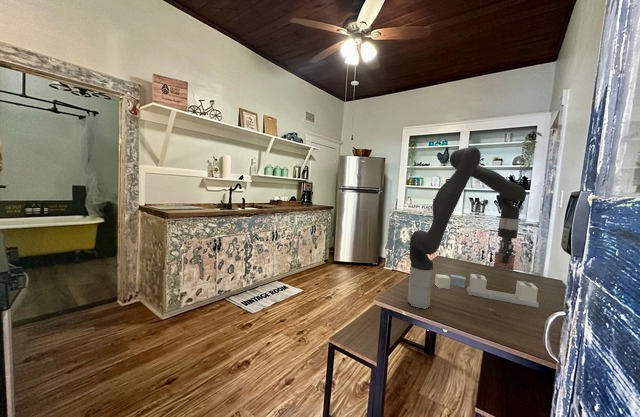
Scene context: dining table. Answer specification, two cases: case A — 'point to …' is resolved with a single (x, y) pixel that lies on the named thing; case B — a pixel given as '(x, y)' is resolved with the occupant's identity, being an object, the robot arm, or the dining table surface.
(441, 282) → the block
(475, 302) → the dining table surface
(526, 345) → the dining table surface
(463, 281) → the block
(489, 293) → the rail
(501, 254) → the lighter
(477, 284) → the mounted modules
